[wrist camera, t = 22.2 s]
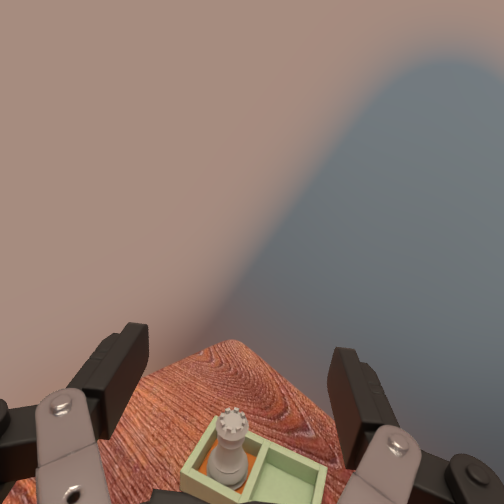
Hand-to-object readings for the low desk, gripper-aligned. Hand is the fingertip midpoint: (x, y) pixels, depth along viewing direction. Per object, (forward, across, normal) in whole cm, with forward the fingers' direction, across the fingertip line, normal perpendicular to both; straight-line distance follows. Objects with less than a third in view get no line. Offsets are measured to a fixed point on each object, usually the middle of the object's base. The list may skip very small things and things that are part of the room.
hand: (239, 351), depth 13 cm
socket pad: (+10, -3, +26) cm, 28 cm away
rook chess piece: (+11, 0, +26) cm, 28 cm away
